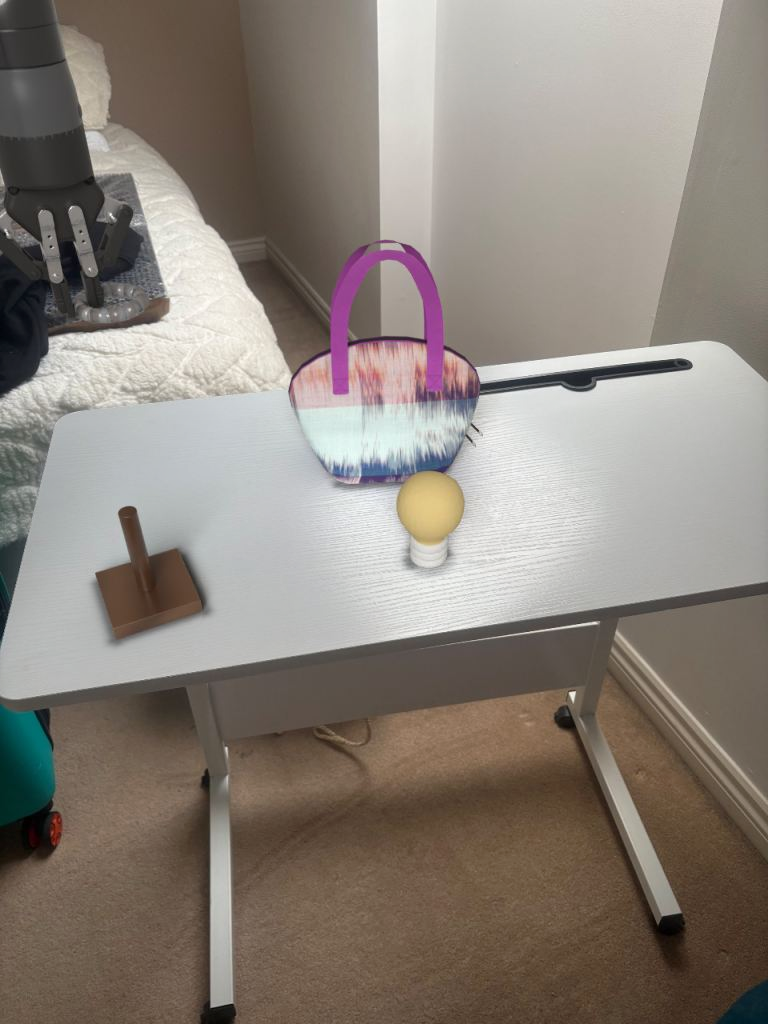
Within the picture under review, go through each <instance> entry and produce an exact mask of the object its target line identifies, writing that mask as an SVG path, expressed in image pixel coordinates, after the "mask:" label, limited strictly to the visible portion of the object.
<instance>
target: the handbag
mask: <svg viewBox="0 0 768 1024" xmlns="http://www.w3.org/2000/svg"><path fill="white" fill-rule="evenodd" d="M376 244H377V245H378V244H399V245H400V246H401V248H402V249H403V250H404V251H402V250H398V249H397V250H396V249H381V250H374V251H370V252H369V253H367V254H365V253H366V251H367V250H368V248H369V247H370V246H372V245H376ZM364 254H365V255H364ZM384 261H396V262H398V263H400V264H401V265H403V266H404V267H405V268H406V269H407V271H408V272H409V274H411V277H412V280H413V281H414V283H415V285H416V288H417V290H418V292H419V295H420V297H421V300H422V306H423V307H422V309H423V338H420V337H414V336H406V335H379V336H371V337H363V338H362V337H361V338H357V339H354V340H350V341H348V334H349V333H348V331H349V320H350V319H349V318H350V312H351V310H352V309H351V308H352V304H353V302H354V299H355V297H356V294H357V292H358V290H359V288H360V286H361V284H362V282H363V280H364V278H365V276H366V275H367V273H368V272H369V271H370V269H371V268H372V267H373V266H375V265H376V264H378V263H380V262H384ZM330 304H331V305H330V321H329V323H330V324H329V325H330V327H329V328H330V330H329V331H330V332H329V333H330V347H329V348H327V349H324V350H322V351H320V352H317V353H316V354H314V355H313V356H311V357H310V358H308V359H307V360H305V361H304V362H302V363H301V364H300V366H299V367H298V368H297V370H296V371H295V372H294V374H293V375H292V376H291V378H290V381H289V385H288V390H287V392H288V397H289V402H290V407H291V408H292V411H293V413H294V415H295V418H296V420H297V422H298V424H299V427H300V428H301V431H302V433H303V434H304V436H305V438H306V440H307V441H308V444H309V445H310V447H311V449H312V451H313V452H314V454H315V456H316V457H317V459H318V461H319V462H320V464H321V465H322V467H323V469H324V470H325V471H326V472H328V473H329V474H330V475H331V476H332V477H333V479H335V481H337V482H341V483H344V484H347V485H362V484H363V485H364V484H365V485H367V484H383V483H405V482H406V480H407V479H408V478H410V477H411V476H412V475H414V474H416V473H418V472H422V471H436V472H440V473H444V474H445V472H446V471H448V469H449V468H450V467H451V466H452V464H453V463H454V462H455V459H456V457H457V456H458V454H459V452H460V450H461V448H462V445H463V444H464V441H465V439H467V440H468V441H469V442H470V443H471V444H472V446H473V447H474V448H476V447H477V445H476V443H475V442H474V441H473V439H472V438H471V437H470V436H469V435H468V431H469V429H470V427H472V429H474V430H475V432H477V434H479V435H480V436H481V437H483V436H484V435H483V432H482V431H481V430H480V429H479V428H478V427H477V426H476V425H475V424H473V422H472V421H473V419H474V415H475V412H476V409H477V406H478V403H479V399H480V393H481V380H480V377H479V373H478V370H477V369H476V368H475V366H474V365H473V364H472V363H471V362H470V361H469V359H468V358H467V357H466V356H465V355H463V354H461V353H459V351H457V350H455V349H454V348H452V347H450V346H448V345H445V344H444V342H445V341H444V339H445V337H444V336H445V335H444V334H445V333H444V316H443V315H444V314H443V307H442V302H441V298H440V296H439V292H438V287H437V284H436V281H435V279H434V276H433V273H432V272H431V269H430V267H429V265H428V264H427V261H426V260H425V259H424V257H423V256H422V254H421V253H420V252H419V251H418V250H417V249H416V248H415V247H413V246H412V245H411V244H406V243H402V242H400V241H396V240H393V239H382V240H376V241H373V242H372V243H368V244H365V245H363V246H359V247H358V248H356V250H355V251H354V252H353V253H351V254H350V256H349V257H348V258H347V260H346V261H345V264H344V265H343V267H342V269H341V271H340V273H339V276H338V278H337V280H336V283H335V287H334V289H333V293H332V298H331V303H330Z"/></svg>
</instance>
